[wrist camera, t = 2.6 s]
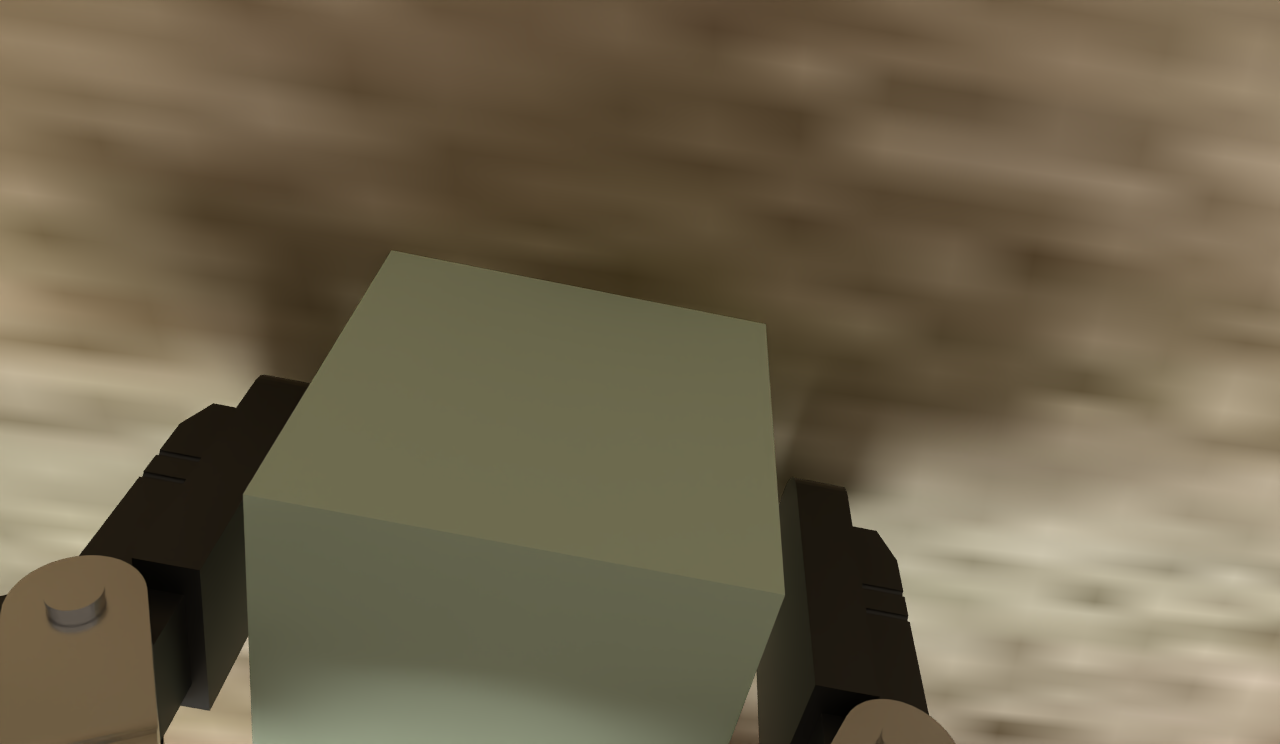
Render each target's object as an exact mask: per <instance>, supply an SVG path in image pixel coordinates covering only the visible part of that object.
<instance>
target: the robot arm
mask: <svg viewBox="0 0 1280 744" xmlns="http://www.w3.org/2000/svg"><path fill="white" fill-rule="evenodd" d="M309 385H310V383H305V382H300V381H295V380H290V379H285V378H279V377H274V376H269V375H260V376H259V377H258V378H257V379H256V380H255V382H254V383H253V385H252V386H251V387H250V389H249V390H248V392H247V393H246V395H245V396H244V397H243V399H242V400H241V402H240V403H239V405H238V406H237V408H235V407H229V406H224V405H219V404H214V403H213V404H212V405H210V406H208V407H207V408H205V409H203V410H202V411H200V412H198V413H197V414H195V415H193V416H192V417H190V418H188V419H187V420H185V421H183V422H182V423H180V424H179V425H178V427H177V428H176V429H175V431H174V432H173V433H172V435H171V436H170V437H169V439H168V440H167V441H166V443H165V444H164V445H163V446H162V448H161V449H160V453H159V455H156V456H155V457H154V458H153V460H152V461H151V462H150V463H149V465H148V466H147V467H146V469H145V470H144V473H143V476H142V477H139V478H138V479H137V481H136V482H135V483H134V484H133V486H132V487H131V488H130V490H129V491H128V492H127V494H126V495H125V496H124V498H123V499H122V500H121V502H120V503H119V504H118V505H117V507H116V508H115V509H114V511H113V512H112V513H111V515H110V516H109V517H108V519H107V520H106V521H105V522H104V524H103V525H102V526H101V528H100V529H99V530H98V532H97V533H96V534H95V536H94V537H93V538H92V540H91V541H90V542H89V543H88V545H87V546H86V547H85V549H84V550H83V551H82V553H81V554H80V555H79V556H75V557H70V558H65V559H61V560H58V561H55V562H51V563H49V564H47V565H44V566H42V567H40V568H38V569H36V570H34V571H33V572H31V573H29V574H28V575H27V576H25V577H24V578H22V579H21V580H20V581H19V582H18V583H17V584H16V585H15V586H14V587H13V588H12V589H11V590H10V592H9V593H8V594H7V595H3V596H0V744H165V743H164V734H165V732H166V731H167V729H168V727H169V725H170V723H171V721H172V720H173V718H174V716H175V714H176V712H177V710H178V709H179V707H180V706H186V707H192V708H197V709H203V710H209V711H210V709H211V707H212V705H213V703H214V701H215V700H216V698H217V696H218V694H219V692H220V690H221V688H222V686H223V684H224V682H225V680H226V678H227V676H228V674H229V672H230V670H231V668H232V666H233V664H234V663H235V661H236V659H237V657H238V655H239V653H240V651H241V649H242V647H243V645H244V643H245V641H246V639H247V637H248V612H247V587H246V561H245V536H244V510H243V493H244V492H245V490H246V488H247V487H248V485H249V483H250V482H251V480H252V479H253V477H254V475H255V474H256V472H257V470H258V469H259V467H260V465H261V464H262V462H263V460H264V459H265V457H266V456H267V454H268V452H269V451H270V449H271V447H272V446H273V444H274V442H275V441H276V439H277V437H278V436H279V434H280V433H281V431H282V429H283V428H284V426H285V424H286V423H287V421H288V419H289V418H290V416H291V414H292V413H293V411H294V410H295V408H296V406H297V405H298V403H299V401H300V400H301V398H302V396H303V395H304V393H305V391H306V390H307V388H308V387H309ZM779 517H780V531H781V545H782V559H783V573H784V587H785V596H784V599H783V602H782V604H781V607H780V610H779V612H778V615H777V618H776V620H775V623H774V626H773V628H772V631H771V634H770V636H769V639H768V642H767V644H766V647H765V649H764V652H763V655H762V657H761V660H760V663H759V665H758V668H757V695H758V722H759V744H955V742H954V740H953V739H952V738H951V736H950V735H949V734H948V732H947V731H946V730H945V729H944V728H943V727H942V726H941V725H940V724H939V723H938V722H937V721H936V720H934V719H933V718H932V717H931V716H929V713H928V709H927V704H926V699H925V694H924V689H923V684H922V680H921V675H920V670H919V665H918V660H917V655H916V651H915V646H914V641H913V636H912V631H911V626H910V622H908V621H907V619H908V612H907V607H906V602H905V597H902V593H903V588H902V583H901V578H900V573H899V568H898V563H897V560H896V558H895V557H894V556H893V554H892V553H891V551H890V550H889V548H888V547H887V545H886V544H885V543H884V541H883V540H882V538H881V537H880V535H879V534H878V532H877V531H874V530H869V529H863V528H858V527H853V526H852V520H851V514H850V508H849V501H848V495H847V491H846V489H845V488H844V487H840V486H835V485H830V484H825V483H820V482H814V481H809V480H804V479H799V478H793V477H792V478H790V479H789V481H788V482H787V485H786V487H785V490H784V492H783V495H782V498H781V501H780V504H779Z"/></svg>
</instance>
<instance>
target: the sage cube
mask: <svg viewBox="0 0 1280 744" xmlns="http://www.w3.org/2000/svg"><path fill="white" fill-rule="evenodd" d="M243 510H244V536H245V561H246V587H247V612H248V638H249V663H250V688H251V714H252V739H253V744H729V742H730V740H731V737H732V734H733V732H734V729H735V726H736V724H737V721H738V719H739V716H740V713H741V711H742V708H743V705H744V703H745V700H746V697H747V695H748V692H749V689H750V687H751V684H752V681H753V679H754V676H755V673H756V671H757V668H758V665H759V663H760V660H761V657H762V655H763V652H764V649H765V647H766V644H767V642H768V639H769V636H770V634H771V631H772V628H773V626H774V623H775V620H776V618H777V615H778V612H779V610H780V607H781V604H782V602H783V599H784V596H785V587H784V573H783V559H782V545H781V531H780V517H779V503H778V489H777V475H776V461H775V447H774V433H773V419H772V405H771V391H770V377H769V363H768V349H767V335H766V324H763V323H758V322H753V321H748V320H742V319H737V318H732V317H727V316H722V315H717V314H712V313H707V312H702V311H697V310H692V309H687V308H682V307H677V306H672V305H667V304H661V303H656V302H651V301H646V300H641V299H636V298H631V297H626V296H621V295H616V294H611V293H606V292H601V291H596V290H591V289H585V288H580V287H575V286H570V285H565V284H560V283H555V282H550V281H545V280H540V279H535V278H530V277H525V276H520V275H515V274H509V273H504V272H499V271H494V270H489V269H484V268H479V267H474V266H469V265H464V264H459V263H454V262H449V261H444V260H439V259H434V258H428V257H423V256H418V255H413V254H408V253H403V252H398V251H393V250H391V252H390V253H389V255H388V257H387V258H386V260H385V262H384V263H383V265H382V267H381V268H380V270H379V271H378V273H377V275H376V276H375V278H374V280H373V281H372V283H371V285H370V286H369V288H368V290H367V291H366V293H365V294H364V296H363V298H362V299H361V301H360V303H359V304H358V306H357V308H356V309H355V311H354V313H353V314H352V316H351V317H350V319H349V321H348V322H347V324H346V326H345V327H344V329H343V331H342V332H341V334H340V336H339V337H338V339H337V340H336V342H335V344H334V345H333V347H332V349H331V350H330V352H329V354H328V355H327V357H326V359H325V360H324V362H323V364H322V365H321V367H320V368H319V370H318V372H317V373H316V375H315V377H314V378H313V380H312V382H311V383H310V385H309V387H308V388H307V390H306V391H305V393H304V395H303V396H302V398H301V400H300V401H299V403H298V405H297V406H296V408H295V410H294V411H293V413H292V414H291V416H290V418H289V419H288V421H287V423H286V424H285V426H284V428H283V429H282V431H281V433H280V434H279V436H278V437H277V439H276V441H275V442H274V444H273V446H272V447H271V449H270V451H269V452H268V454H267V456H266V457H265V459H264V460H263V462H262V464H261V465H260V467H259V469H258V470H257V472H256V474H255V475H254V477H253V479H252V480H251V482H250V483H249V485H248V487H247V488H246V490H245V492H244V493H243Z"/></svg>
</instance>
